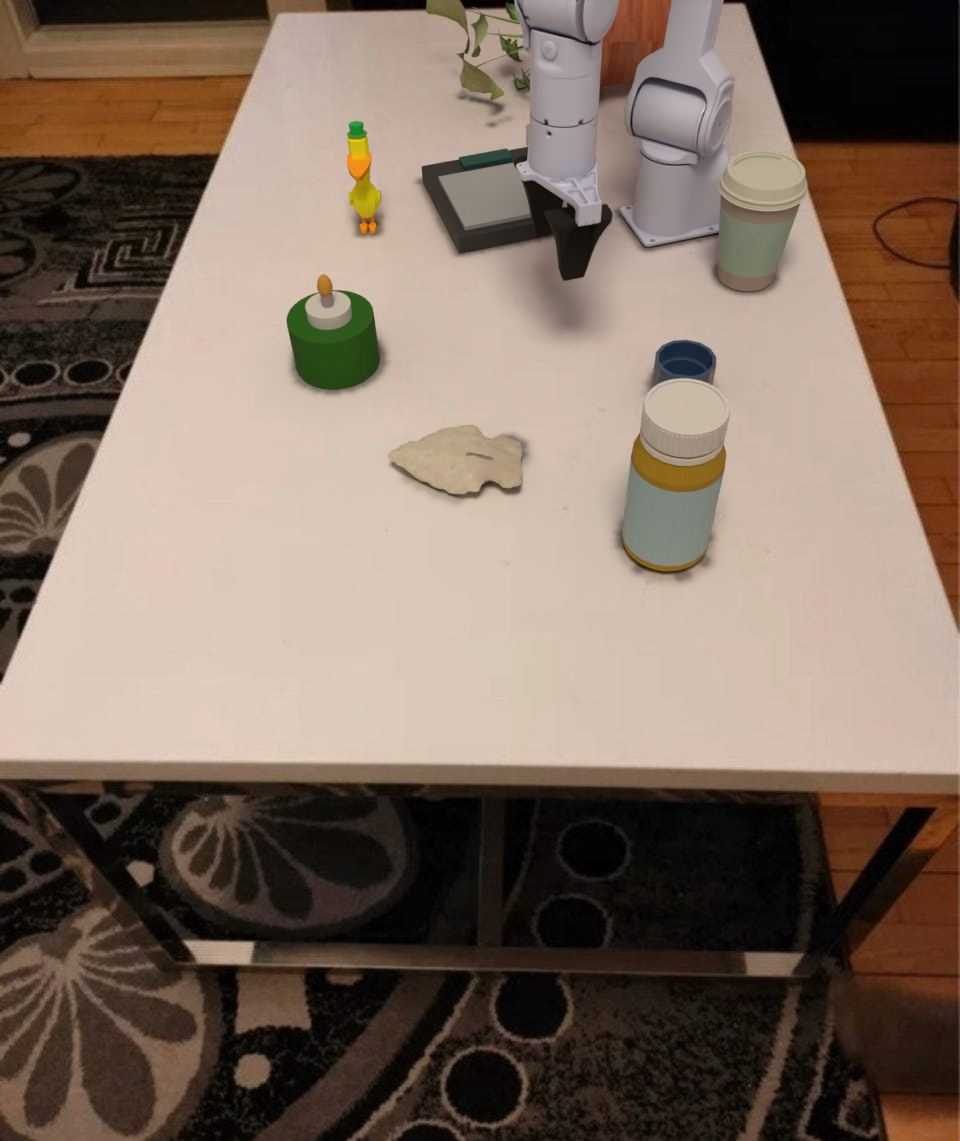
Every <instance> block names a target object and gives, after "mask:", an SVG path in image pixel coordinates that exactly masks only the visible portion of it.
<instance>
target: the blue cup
mask: <svg viewBox="0 0 960 1141" xmlns="http://www.w3.org/2000/svg"><path fill="white" fill-rule="evenodd" d="M653 365H654V366H653V372H652V380H651V389H652V388H653V387H654V386H656V385H657V384H659V383H661V382H664V381H667V380H671V379H678V378H688V379H695V380H700V381H703V382H706V383H708V384H711V385H712V386H714V379H715V373H716V368H717V356H716V355H715V353H714V351H713V350H712V349H711V348H710V347H709V346H707V345H705V344H703V343H702V342H700V341H695V340H690V339H678V340H677V339H675V340H671V341H669V342H666V343H664V344H662V345H661V346H660V347H659V348H658V349H657V350H656V352H655V355H654V363H653Z"/></svg>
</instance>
